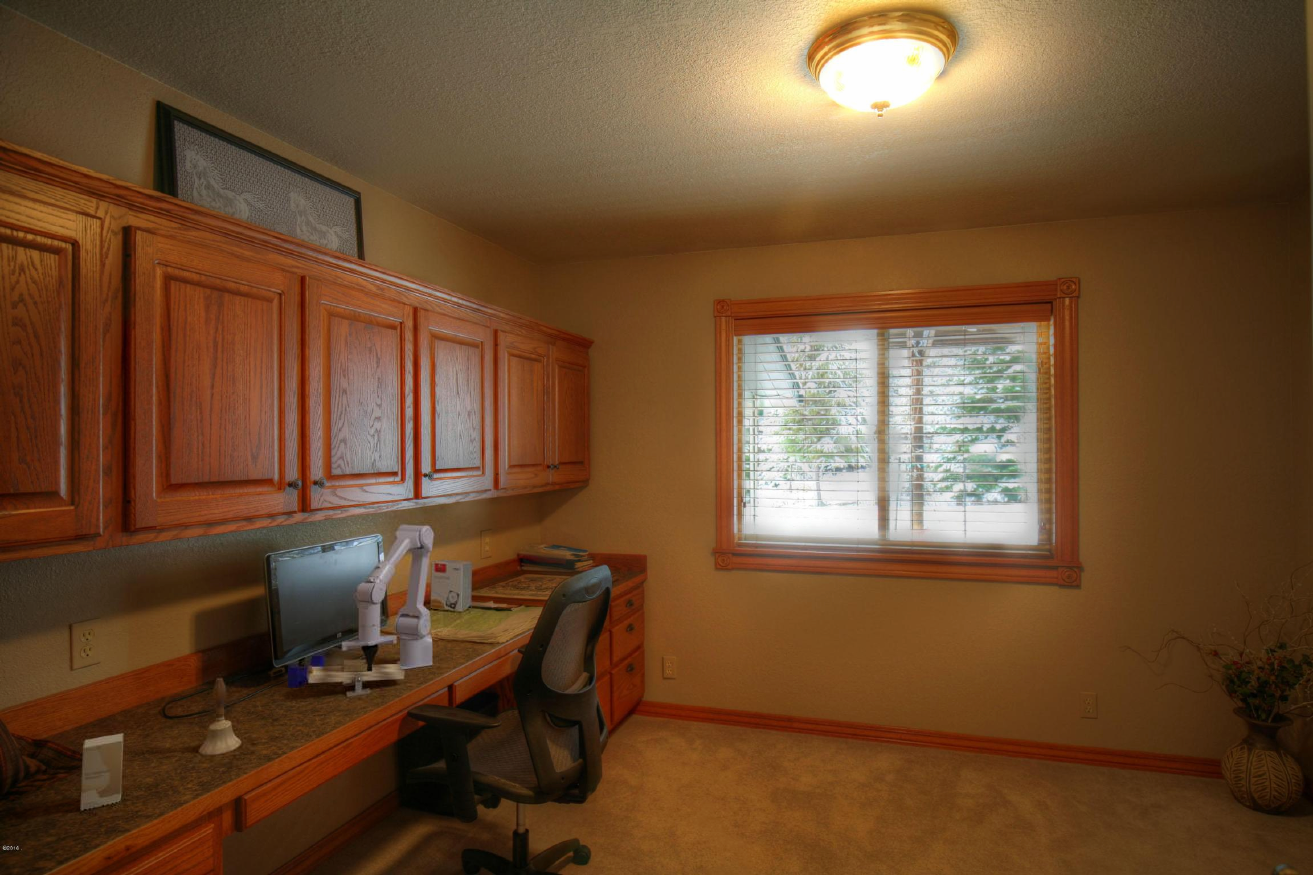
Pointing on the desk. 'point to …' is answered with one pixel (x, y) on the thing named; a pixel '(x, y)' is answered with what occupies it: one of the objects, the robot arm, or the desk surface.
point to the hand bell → (219, 726)
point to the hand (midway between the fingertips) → (369, 671)
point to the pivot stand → (356, 686)
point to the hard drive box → (451, 584)
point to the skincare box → (101, 771)
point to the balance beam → (354, 673)
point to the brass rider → (354, 666)
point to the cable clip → (303, 672)
